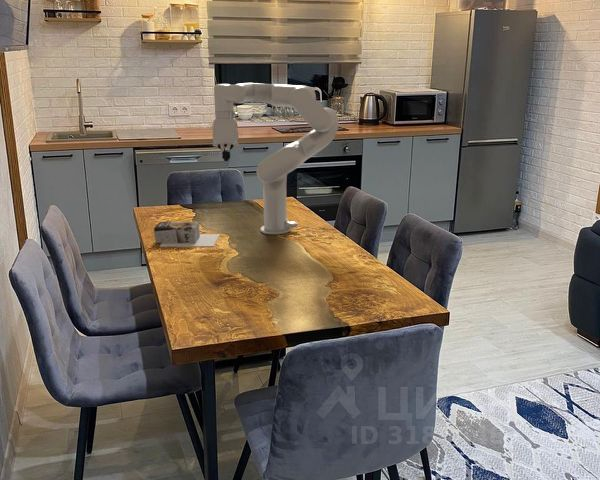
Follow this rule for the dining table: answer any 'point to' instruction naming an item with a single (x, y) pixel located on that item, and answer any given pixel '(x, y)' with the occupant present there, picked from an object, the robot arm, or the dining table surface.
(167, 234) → the coffee box
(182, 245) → the mat
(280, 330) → the dining table surface
